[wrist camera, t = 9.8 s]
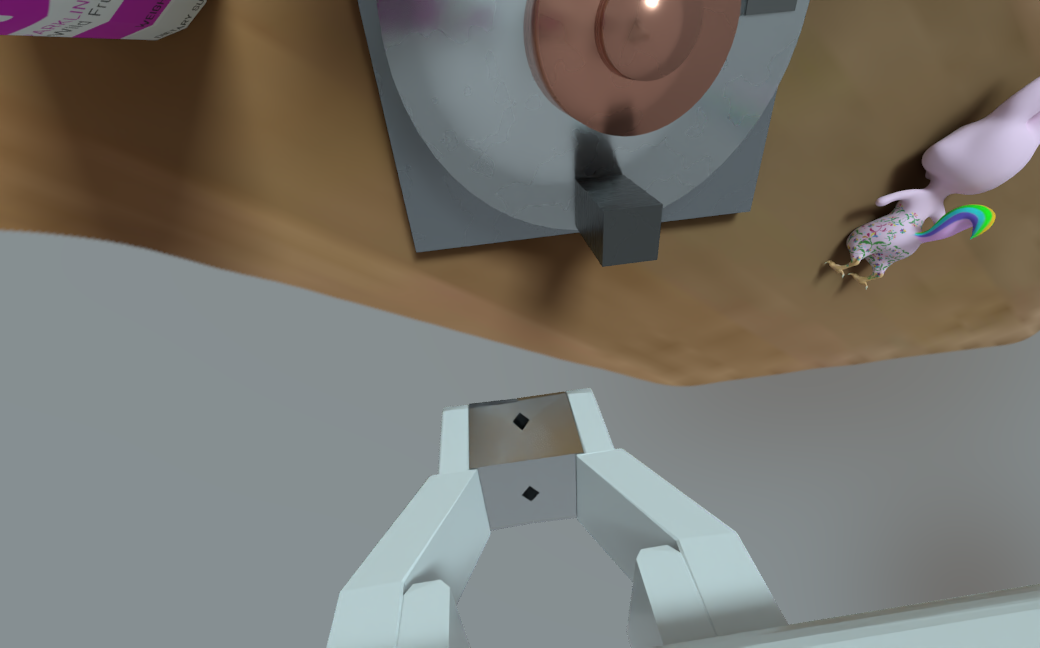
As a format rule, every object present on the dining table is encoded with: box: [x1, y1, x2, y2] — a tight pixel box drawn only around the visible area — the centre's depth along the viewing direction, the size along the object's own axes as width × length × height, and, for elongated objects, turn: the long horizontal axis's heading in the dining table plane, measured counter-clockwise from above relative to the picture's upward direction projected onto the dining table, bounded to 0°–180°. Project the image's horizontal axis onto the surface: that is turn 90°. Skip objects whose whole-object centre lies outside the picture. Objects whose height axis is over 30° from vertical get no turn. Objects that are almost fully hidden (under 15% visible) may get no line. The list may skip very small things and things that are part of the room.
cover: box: [523, 0, 741, 137], centre depth 16 cm, size 7×7×5 cm
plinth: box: [358, 0, 777, 252], centre depth 20 cm, size 20×20×1 cm
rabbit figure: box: [825, 77, 1040, 289], centre depth 24 cm, size 6×6×15 cm
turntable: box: [376, 0, 810, 267], centre depth 16 cm, size 18×18×7 cm
